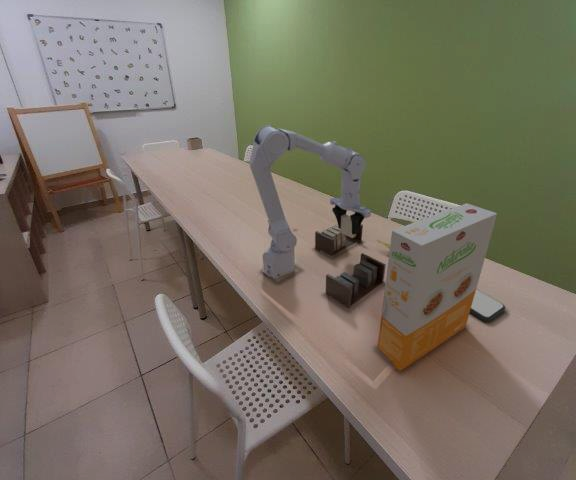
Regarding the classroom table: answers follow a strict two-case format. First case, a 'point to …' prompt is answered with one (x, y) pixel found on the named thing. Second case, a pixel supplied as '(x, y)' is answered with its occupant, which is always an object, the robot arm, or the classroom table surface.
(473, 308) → the phone case
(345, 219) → the white book
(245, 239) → the classroom table surface
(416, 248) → the cereal box
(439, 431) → the classroom table surface
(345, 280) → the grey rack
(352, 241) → the dark brown rack
